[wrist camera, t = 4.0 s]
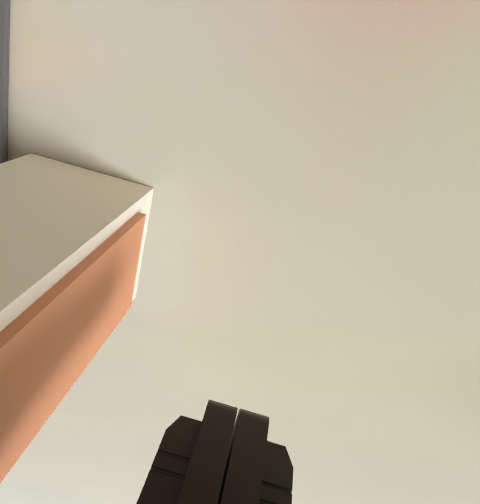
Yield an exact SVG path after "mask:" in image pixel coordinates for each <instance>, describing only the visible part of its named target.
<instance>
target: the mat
mask: <svg viewBox="0 0 480 504" xmlns="http://www.w3.org/2000/svg"><path fill="white" fill-rule="evenodd" d="M9 28H10V0H0V164H1V163H4V162H7V123H8V75H9Z"/></svg>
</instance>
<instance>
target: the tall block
mask: <svg viewBox="0 0 480 504" xmlns="http://www.w3.org/2000/svg"><path fill="white" fill-rule="evenodd" d="M153 190H154V188H152V187H148V186H145V185H141V184H138V183H134V182H131V181H127V180H124V179H120V178H117V177H113V176H110V175H106V174H102V173H99V172H95V171H92V170H88V169H85V168H81V167H78V166H74V165H71V164H67V163H64V162H60V161H57V160H53V159H50V158H46V157H43V156H39V155H36V154H32V153H31V154H28V155H25V156H22V157H19V158H16V159H13V160H10V161H7V162H4V163H1V164H0V483H1V482H2V480H3V479H4V478H5V476H6V475H7V473H8V472H9V471H10V469H11V468H12V467H13V465H14V464H15V463H16V461H17V460H18V459H19V457H20V456H21V455H22V453H23V452H24V450H25V449H26V448H27V446H28V445H29V444H30V442H31V441H32V440H33V438H34V437H35V436H36V434H37V433H38V431H39V430H40V429H41V427H42V426H43V425H44V423H45V422H46V421H47V419H48V418H49V417H50V415H51V414H52V413H53V411H54V410H55V408H56V407H57V406H58V404H59V403H60V402H61V400H62V399H63V398H64V396H65V395H66V394H67V392H68V391H69V390H70V388H71V387H72V385H73V384H74V383H75V381H76V380H77V379H78V377H79V376H80V375H81V373H82V372H83V371H84V369H85V368H86V366H87V365H88V364H89V362H90V361H91V360H92V358H93V357H94V356H95V354H96V353H97V352H98V350H99V349H100V348H101V346H102V345H103V343H104V342H105V341H106V339H107V338H108V337H109V335H110V334H111V333H112V331H113V330H114V329H115V327H116V326H117V325H118V323H119V322H120V320H121V319H122V318H123V316H124V315H125V314H126V312H127V311H128V310H129V308H130V307H131V303H132V301H133V299H134V298H135V297H136V291H137V285H138V279H139V273H140V267H141V261H142V255H143V249H144V243H145V237H146V231H147V226H148V220H149V214H150V208H151V202H152V196H153Z"/></svg>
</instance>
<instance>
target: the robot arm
mask: <svg viewBox="0 0 480 504" xmlns="http://www.w3.org/2000/svg"><path fill="white" fill-rule="evenodd" d="M237 409H238V408H236V407H232V406H229V405H226V404H222V403H219V402H216V401H212V400H209V401H208V404H207V408H206V411H205V414H204V417H203V421H202V422H201V421H198V420H195V419H191V418H188V417H185V416H180V417H179V418H178V419H177V420H176V421H175V422H174V423H173V424H172V425H170V426H169V427H168V428H167V429H166V431H165V434H164V436H163V439H162V441H161V444H160V446H159V449H158V452H157V454H156V456H155V459H154V461H153V464H152V467H151V470H150V471H149V474H148V476H147V479H146V481H145V484H144V486H143V489H142V491H141V494H140V496H139V499H138V501H137V504H291V503H292V494H291V492H292V482H293V466H292V463H291V460H290V458H289V455H288V452H287V450H286V447H285V446H282V445H279V444H275V443H272V442H269V441H267V434H268V426H269V417H267V416H263V415H260V414H257V413H253V412H250V411H246V410H243V409H240V410H239V412H238V415H237V418H236V414H237ZM235 419H236V422H235ZM234 424H235V425H234Z"/></svg>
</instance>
